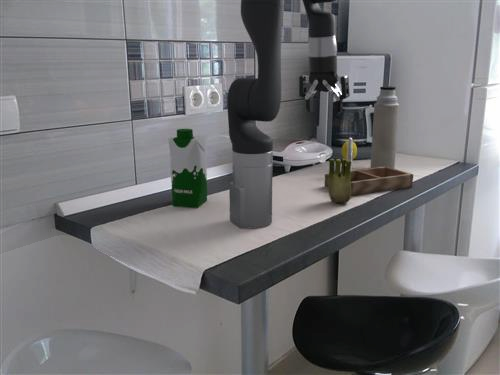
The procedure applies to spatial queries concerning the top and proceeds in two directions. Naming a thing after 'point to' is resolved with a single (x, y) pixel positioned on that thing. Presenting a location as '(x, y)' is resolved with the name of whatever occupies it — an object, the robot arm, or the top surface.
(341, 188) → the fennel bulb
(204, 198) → the milk carton
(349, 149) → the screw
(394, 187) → the caddy
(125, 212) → the top surface
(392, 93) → the thermos bottle
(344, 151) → the lemon
